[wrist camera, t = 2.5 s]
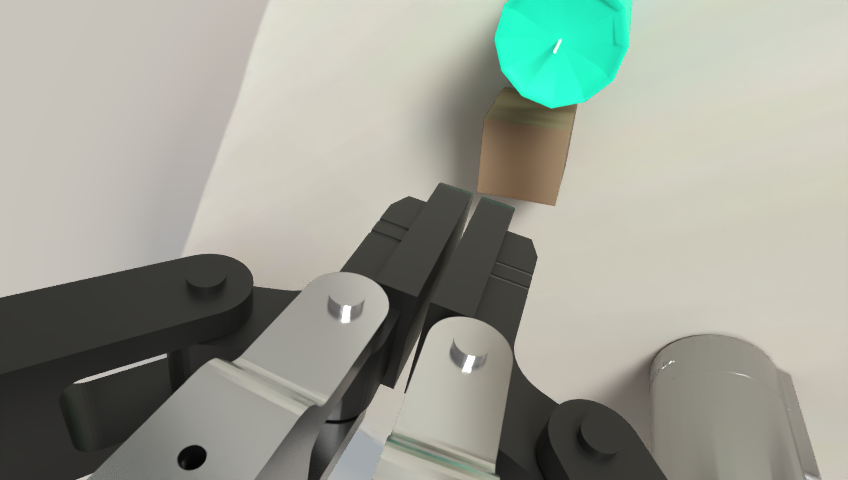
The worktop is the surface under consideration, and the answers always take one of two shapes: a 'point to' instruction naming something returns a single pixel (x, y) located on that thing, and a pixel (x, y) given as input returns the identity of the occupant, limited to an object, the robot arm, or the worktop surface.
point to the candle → (562, 47)
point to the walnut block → (524, 148)
